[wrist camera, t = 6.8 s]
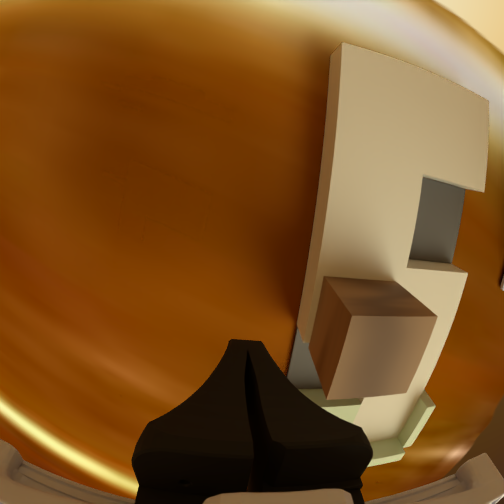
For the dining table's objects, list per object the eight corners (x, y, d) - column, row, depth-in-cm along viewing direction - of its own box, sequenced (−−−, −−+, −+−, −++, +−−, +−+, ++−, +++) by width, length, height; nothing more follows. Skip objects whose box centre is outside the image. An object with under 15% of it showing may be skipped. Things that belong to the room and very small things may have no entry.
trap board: (476, 108, 17) (515, 103, 12) (392, 427, 25) (408, 457, 20) (315, 52, 16) (336, 23, 11) (261, 436, 24) (264, 475, 20)
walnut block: (395, 281, 18) (437, 316, 13) (376, 348, 19) (406, 392, 14) (323, 275, 17) (352, 315, 12) (308, 348, 19) (326, 399, 14)
